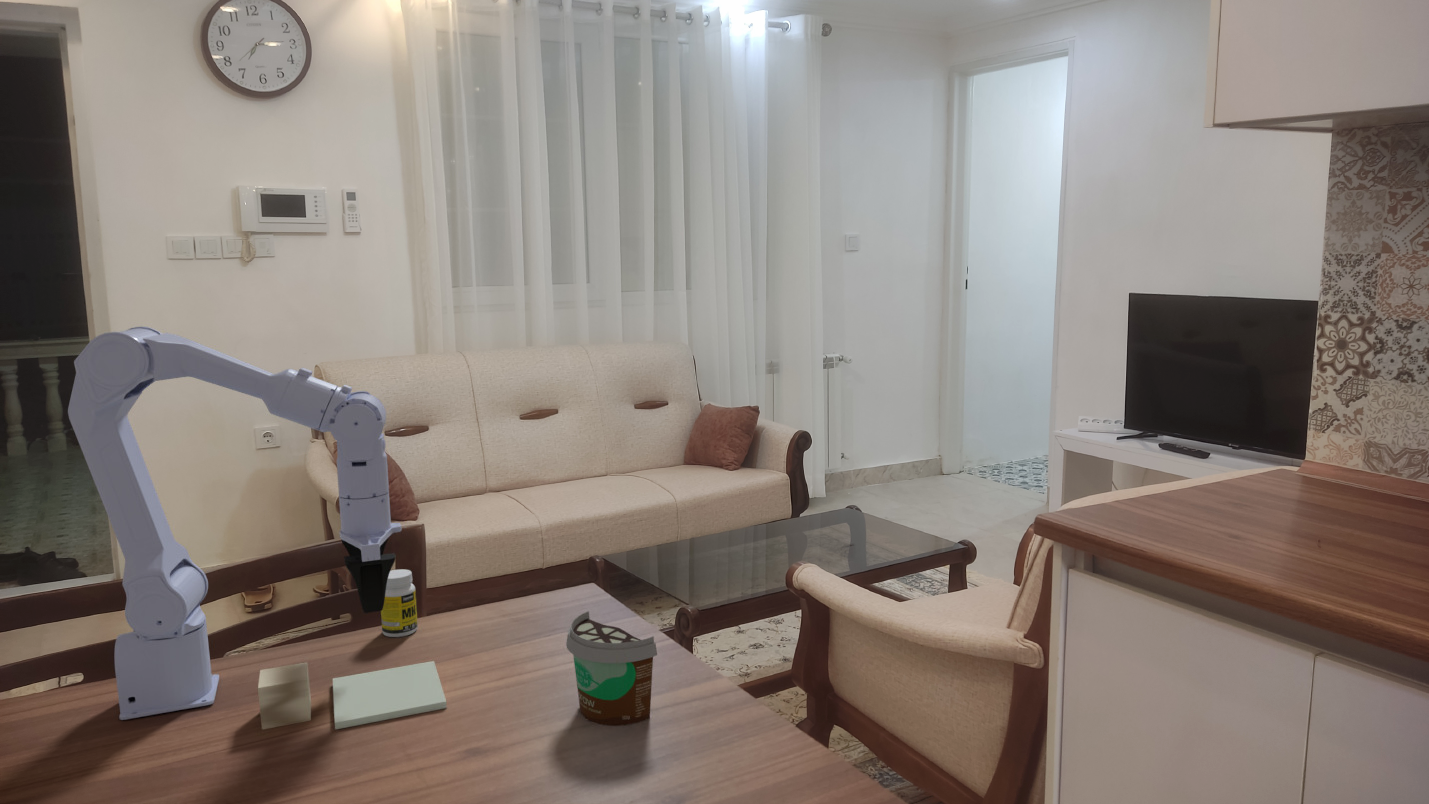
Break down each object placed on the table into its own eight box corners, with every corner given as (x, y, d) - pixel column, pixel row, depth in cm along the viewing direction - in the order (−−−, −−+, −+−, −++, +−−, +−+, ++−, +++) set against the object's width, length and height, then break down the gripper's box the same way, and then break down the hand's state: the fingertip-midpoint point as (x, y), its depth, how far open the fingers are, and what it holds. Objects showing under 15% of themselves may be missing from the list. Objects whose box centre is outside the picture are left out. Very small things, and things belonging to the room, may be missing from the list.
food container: (546, 707, 108) (543, 625, 106) (588, 688, 112) (585, 609, 110) (617, 743, 99) (614, 655, 98) (659, 722, 104) (657, 637, 102)
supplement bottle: (406, 639, 127) (402, 580, 126) (375, 636, 128) (371, 578, 127) (424, 625, 132) (420, 568, 131) (394, 623, 133) (390, 567, 132)
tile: (335, 729, 103) (334, 722, 103) (333, 684, 114) (332, 678, 114) (446, 707, 108) (446, 701, 107) (434, 666, 119) (434, 660, 118)
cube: (262, 730, 103) (257, 688, 102) (264, 710, 108) (260, 669, 107) (310, 720, 105) (307, 679, 104) (310, 701, 110) (307, 662, 109)
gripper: (404, 503, 108) (411, 615, 110) (393, 477, 121) (399, 577, 123) (339, 510, 105) (347, 625, 107) (335, 482, 118) (342, 585, 120)
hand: (371, 600), depth 115 cm, fingers open, 7 cm apart
